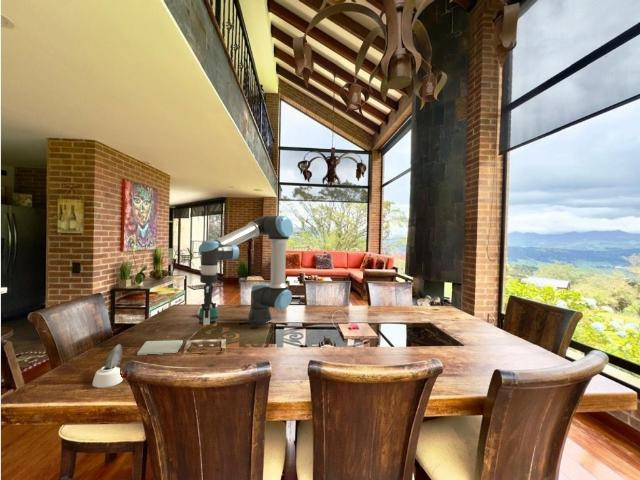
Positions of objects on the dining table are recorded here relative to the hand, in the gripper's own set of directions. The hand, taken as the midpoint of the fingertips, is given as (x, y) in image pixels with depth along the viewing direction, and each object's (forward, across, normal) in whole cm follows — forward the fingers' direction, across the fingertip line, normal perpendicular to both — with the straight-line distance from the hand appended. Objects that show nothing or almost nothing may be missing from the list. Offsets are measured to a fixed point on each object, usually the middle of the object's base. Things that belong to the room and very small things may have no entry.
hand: (207, 321), depth 155 cm
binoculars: (+2, 0, 0) cm, 2 cm away
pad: (+12, 0, -19) cm, 23 cm away
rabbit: (+13, -55, -3) cm, 56 cm away
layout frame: (+12, 0, 0) cm, 12 cm away
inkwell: (+12, +28, -31) cm, 43 cm away
